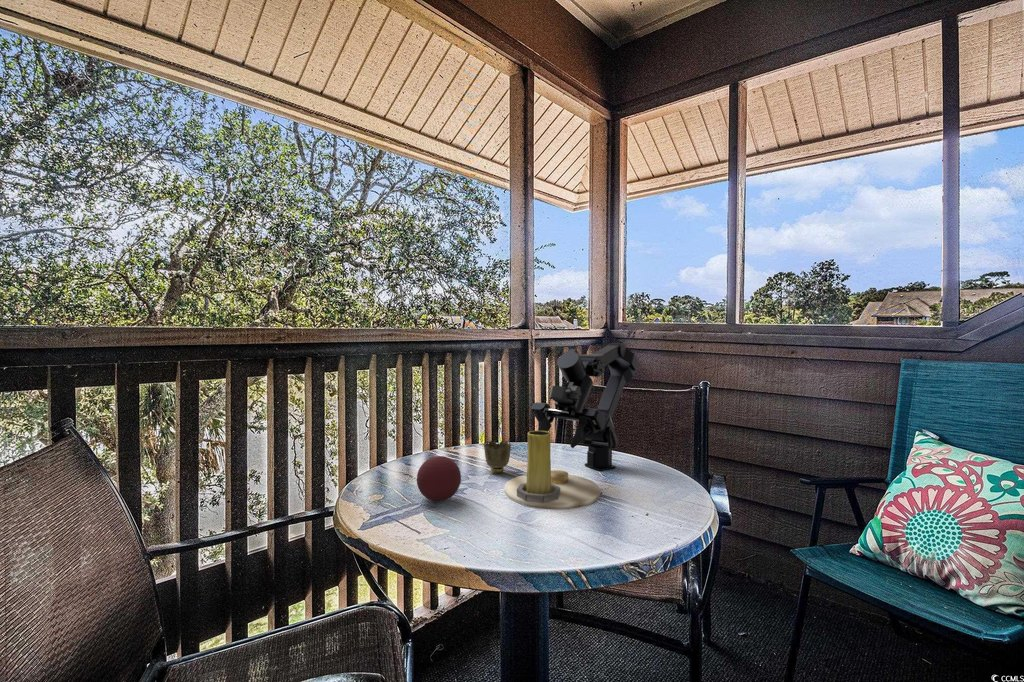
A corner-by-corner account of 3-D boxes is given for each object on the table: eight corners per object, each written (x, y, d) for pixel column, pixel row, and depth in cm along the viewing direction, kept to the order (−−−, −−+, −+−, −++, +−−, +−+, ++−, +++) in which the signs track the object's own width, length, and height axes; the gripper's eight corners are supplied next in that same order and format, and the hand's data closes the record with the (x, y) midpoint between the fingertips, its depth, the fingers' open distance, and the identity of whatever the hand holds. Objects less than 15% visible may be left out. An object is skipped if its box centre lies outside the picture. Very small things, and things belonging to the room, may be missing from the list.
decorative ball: (449, 510, 102) (449, 464, 102) (408, 505, 105) (408, 460, 105) (467, 495, 112) (468, 453, 111) (429, 490, 115) (430, 449, 115)
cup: (512, 469, 133) (512, 440, 133) (509, 477, 126) (509, 447, 126) (486, 468, 134) (486, 440, 134) (481, 476, 127) (481, 446, 127)
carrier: (561, 472, 131) (561, 461, 131) (621, 497, 111) (621, 484, 111) (487, 485, 119) (487, 473, 119) (539, 516, 99) (539, 501, 99)
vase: (520, 493, 110) (520, 432, 110) (539, 488, 114) (539, 429, 114) (538, 500, 105) (538, 436, 105) (557, 495, 109) (557, 433, 109)
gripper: (534, 371, 124) (509, 420, 116) (600, 375, 113) (578, 429, 105) (550, 398, 131) (527, 445, 122) (613, 404, 120) (593, 457, 111)
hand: (554, 444), depth 115 cm, fingers open, 9 cm apart
